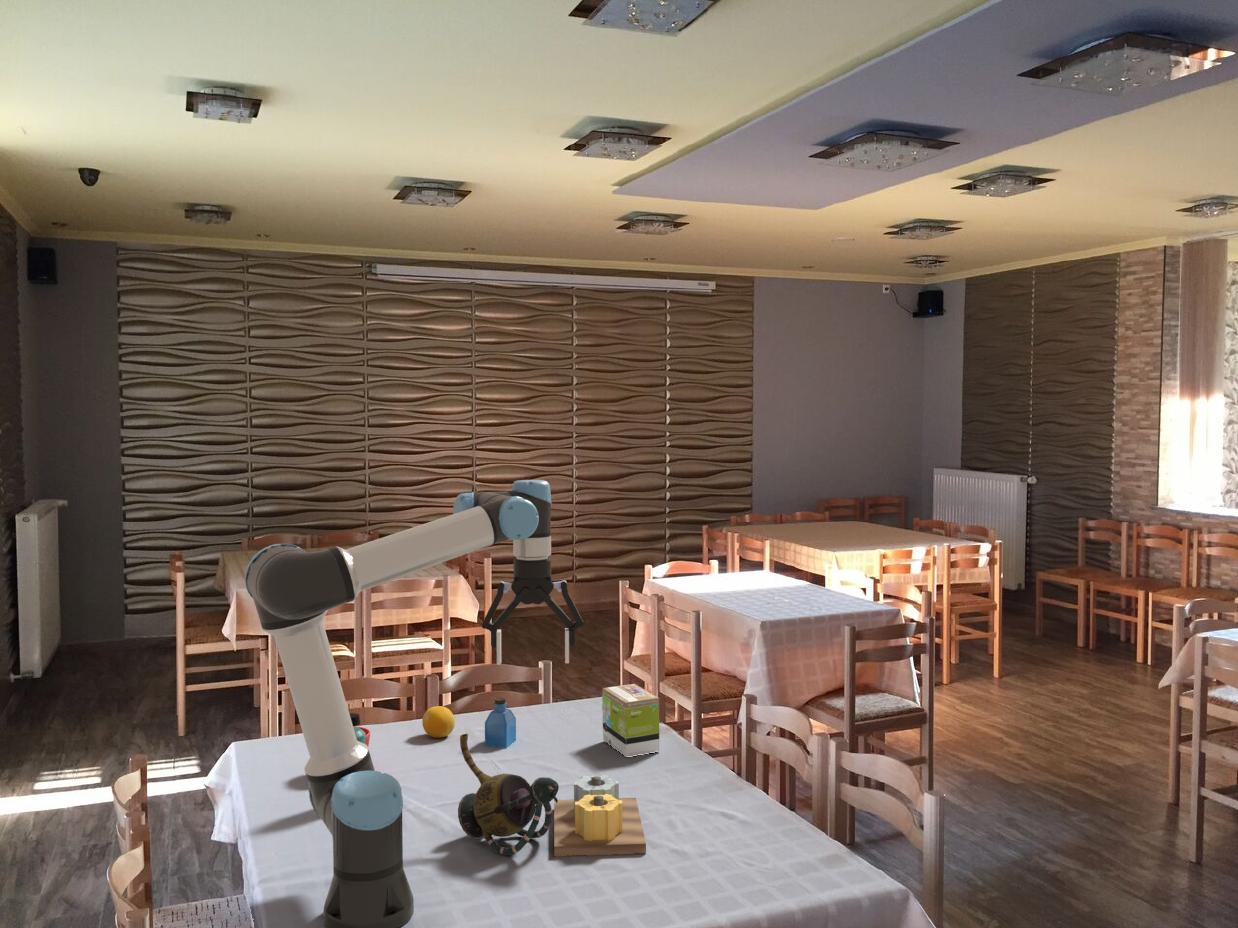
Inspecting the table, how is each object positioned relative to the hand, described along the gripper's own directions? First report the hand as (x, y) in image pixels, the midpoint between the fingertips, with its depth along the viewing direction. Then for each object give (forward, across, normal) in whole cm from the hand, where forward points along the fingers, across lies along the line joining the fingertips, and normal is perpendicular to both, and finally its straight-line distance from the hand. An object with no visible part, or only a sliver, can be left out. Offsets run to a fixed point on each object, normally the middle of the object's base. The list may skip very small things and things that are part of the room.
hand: (533, 662), depth 201 cm
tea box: (+37, -24, -57) cm, 72 cm away
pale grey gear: (+35, -13, -10) cm, 39 cm away
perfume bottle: (+37, +10, -63) cm, 74 cm away
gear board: (+37, -13, -5) cm, 39 cm away
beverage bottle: (+37, +41, -24) cm, 60 cm away
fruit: (+37, +27, -70) cm, 84 cm away
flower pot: (+37, +46, -44) cm, 74 cm away
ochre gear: (+35, -13, 0) cm, 37 cm away
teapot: (+29, +14, -5) cm, 33 cm away
